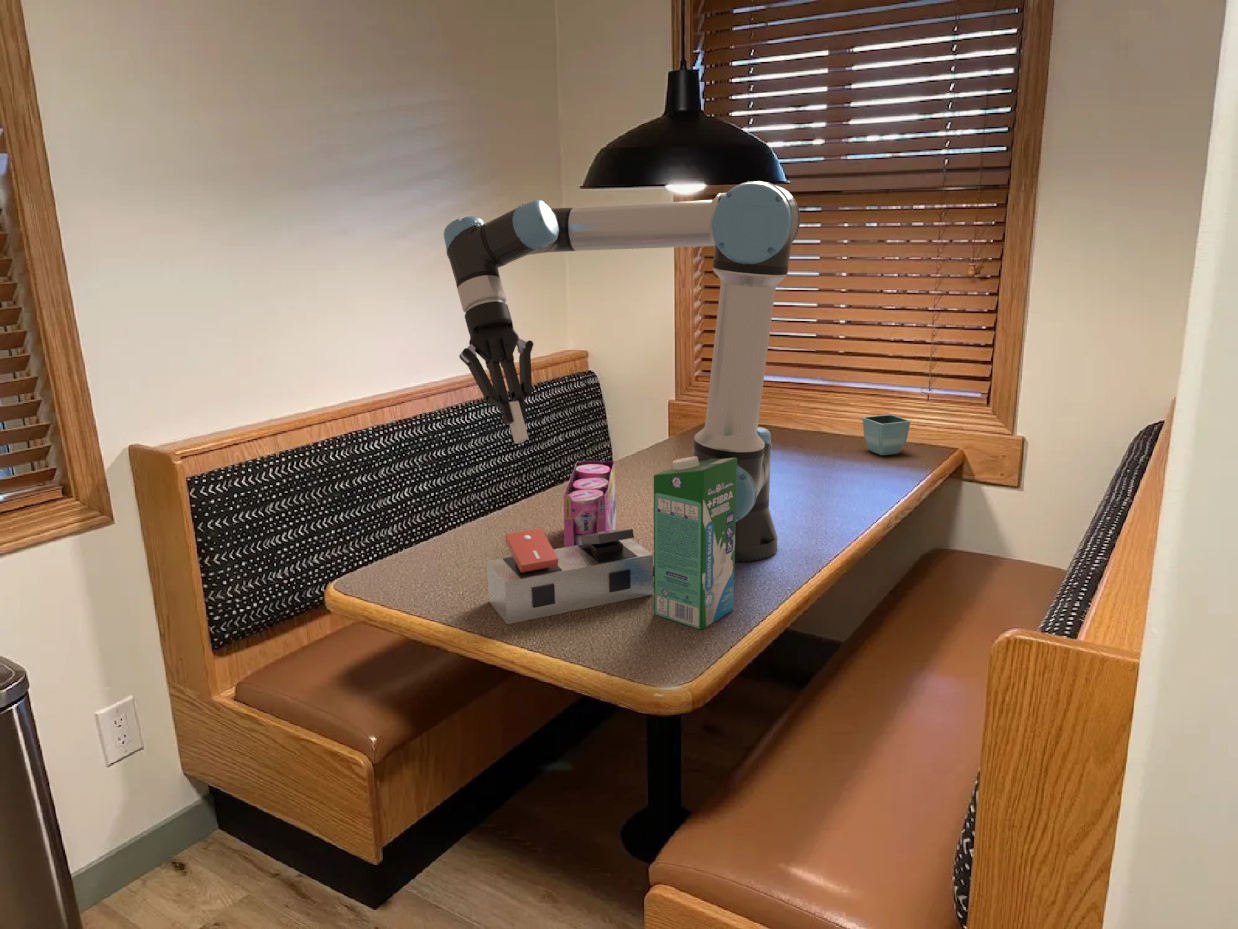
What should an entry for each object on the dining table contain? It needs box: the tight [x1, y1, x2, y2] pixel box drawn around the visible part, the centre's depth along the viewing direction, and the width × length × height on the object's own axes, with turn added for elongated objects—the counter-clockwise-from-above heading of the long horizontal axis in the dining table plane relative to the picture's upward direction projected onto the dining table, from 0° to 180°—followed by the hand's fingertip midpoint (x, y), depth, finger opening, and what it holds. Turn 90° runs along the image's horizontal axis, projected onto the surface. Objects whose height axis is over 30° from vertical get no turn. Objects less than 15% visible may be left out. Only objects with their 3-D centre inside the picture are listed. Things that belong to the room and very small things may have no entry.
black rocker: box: [581, 528, 635, 544], centre depth 147 cm, size 6×8×2 cm
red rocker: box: [504, 527, 558, 572], centre depth 141 cm, size 6×8×2 cm
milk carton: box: [653, 456, 737, 631], centre depth 137 cm, size 9×9×25 cm
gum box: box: [563, 460, 617, 548], centre depth 167 cm, size 24×8×14 cm, turn 176°
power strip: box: [486, 538, 654, 625], centre depth 147 cm, size 32×10×8 cm, turn 115°
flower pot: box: [862, 414, 911, 456], centre depth 230 cm, size 9×9×9 cm
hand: (521, 440), depth 149 cm, fingers closed
